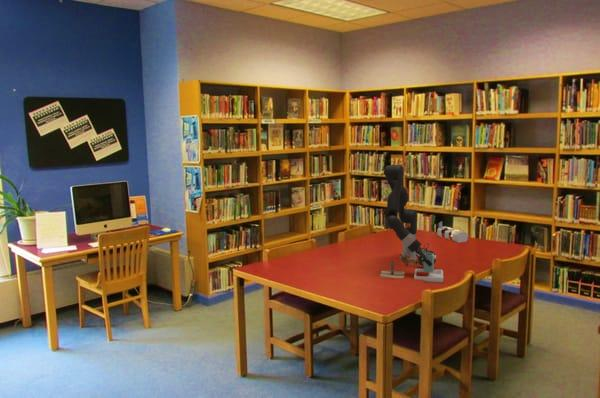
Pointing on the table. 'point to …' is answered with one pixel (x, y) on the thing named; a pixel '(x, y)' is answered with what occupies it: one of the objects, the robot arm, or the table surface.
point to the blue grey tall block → (431, 258)
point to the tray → (430, 276)
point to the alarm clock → (423, 258)
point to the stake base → (396, 274)
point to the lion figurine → (408, 260)
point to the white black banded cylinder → (453, 234)
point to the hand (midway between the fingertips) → (431, 264)
